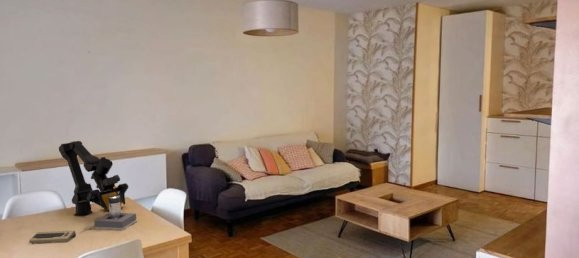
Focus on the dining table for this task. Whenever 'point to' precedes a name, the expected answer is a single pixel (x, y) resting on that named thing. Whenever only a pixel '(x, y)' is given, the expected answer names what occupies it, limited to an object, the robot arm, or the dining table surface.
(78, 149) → the robot arm
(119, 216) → the shiny metal cylinder
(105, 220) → the square plate with hole
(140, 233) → the dining table surface
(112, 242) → the dining table surface
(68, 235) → the computer
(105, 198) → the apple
